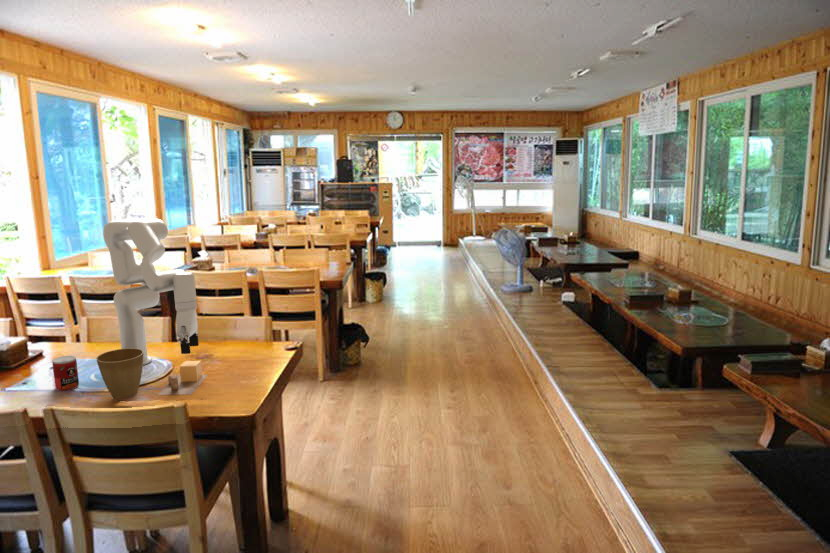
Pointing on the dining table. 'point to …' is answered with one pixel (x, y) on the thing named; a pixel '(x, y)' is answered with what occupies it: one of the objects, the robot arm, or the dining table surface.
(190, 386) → the junction board
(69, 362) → the canned food
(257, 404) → the dining table surface
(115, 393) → the plant pot
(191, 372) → the wooden block
